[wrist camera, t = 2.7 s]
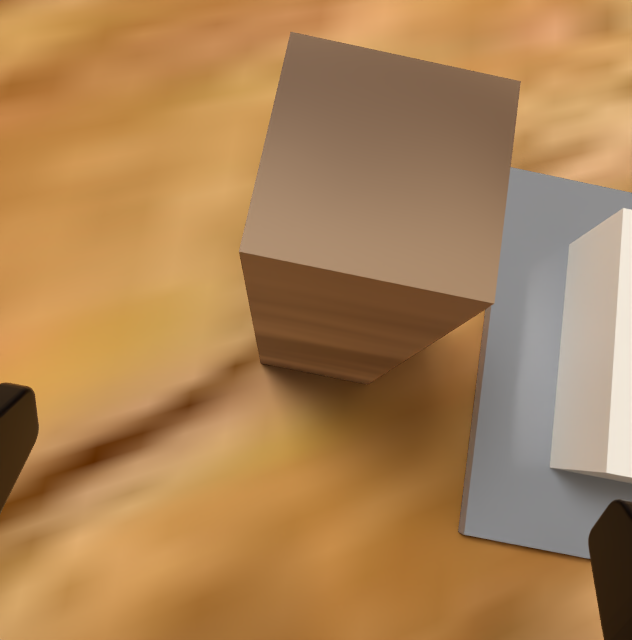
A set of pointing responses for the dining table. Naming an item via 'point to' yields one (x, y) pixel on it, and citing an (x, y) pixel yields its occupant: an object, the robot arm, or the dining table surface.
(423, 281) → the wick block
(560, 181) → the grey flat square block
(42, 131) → the dining table surface
